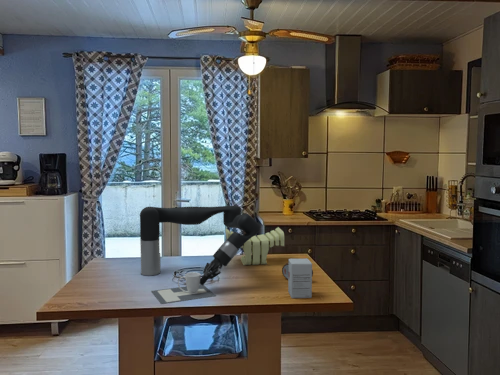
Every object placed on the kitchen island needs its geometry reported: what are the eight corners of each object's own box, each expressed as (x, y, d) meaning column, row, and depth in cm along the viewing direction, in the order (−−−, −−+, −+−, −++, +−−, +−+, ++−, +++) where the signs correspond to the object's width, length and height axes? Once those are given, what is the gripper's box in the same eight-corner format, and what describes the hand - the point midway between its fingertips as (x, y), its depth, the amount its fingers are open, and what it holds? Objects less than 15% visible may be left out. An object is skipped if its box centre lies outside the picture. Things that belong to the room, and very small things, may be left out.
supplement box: (287, 291, 204) (288, 258, 203) (307, 291, 205) (308, 258, 204) (291, 298, 195) (291, 263, 194) (312, 298, 196) (312, 263, 195)
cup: (200, 295, 199) (200, 276, 198) (177, 295, 198) (176, 276, 198) (201, 289, 206) (201, 272, 205) (178, 290, 205) (178, 272, 205)
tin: (313, 281, 220) (313, 264, 219) (311, 283, 217) (311, 265, 216) (283, 277, 226) (283, 260, 225) (281, 279, 223) (281, 262, 222)
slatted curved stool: (228, 267, 244) (228, 233, 242) (225, 259, 260) (225, 228, 258) (284, 265, 248) (284, 232, 247) (278, 258, 264) (278, 227, 262)
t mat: (202, 284, 214) (202, 284, 214) (216, 296, 198) (216, 295, 198) (150, 291, 204) (150, 290, 204) (161, 304, 188) (161, 303, 188)
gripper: (237, 261, 202) (211, 293, 198) (225, 255, 214) (201, 284, 210) (225, 251, 200) (199, 282, 196) (214, 245, 212) (189, 274, 208)
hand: (200, 283), depth 203 cm, fingers closed
